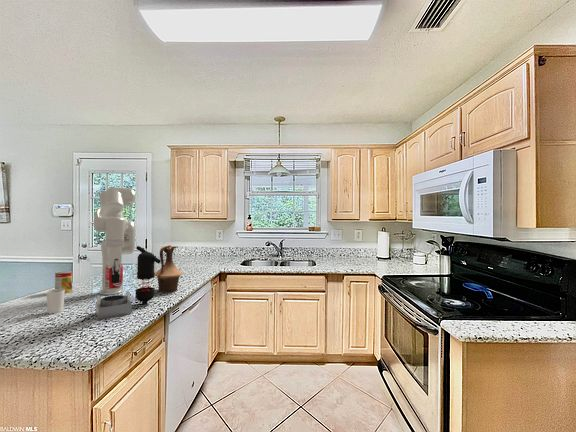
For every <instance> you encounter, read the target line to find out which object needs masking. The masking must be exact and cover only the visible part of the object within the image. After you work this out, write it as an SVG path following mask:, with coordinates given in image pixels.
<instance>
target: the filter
mask: <svg viewBox="0 0 576 432" xmlns="http://www.w3.org/2000/svg"><path fill="white" fill-rule="evenodd" d="M135 250H137V251H139V252H140V253H139V254H138V255H137V272H136V279H137V280H142V281H143V282H141V285H142V286H141V287H139V288H136V289H135V297H136V300H137V301H139V302H141V304H142V305H147V304H148V302H149V301H151V300H152V299H153V298H154V296H155V287H151V286H150V285H149V284H150V281H149V280H150V279H154V278H155V277H156V276H155V263H157V264H161V259H160V258H158V257H157V255H155V254H154V253H152V252H151V251H150V252H149V251H148V250H146V249H145V247H141V246H140V245H138V246H135ZM144 280H147V281H146V282H144ZM144 284H145V285H144Z"/></svg>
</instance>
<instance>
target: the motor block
mask: <svg viewBox="0 0 576 432" xmlns="http://www.w3.org/2000/svg"><path fill="white" fill-rule="evenodd" d="M101 296H102V295H101V294H99V295H96V301H95V308H94V309H95V310H94V311H95V315H96V318H97V319H98V320H103V319H109V318H113V317H119V316H120V317H121V316H125V315H130V314H132V311H133V309H132V307H133V305H132V301H131V300H130V299H131V291H129V290H128V291H126V292H125V294H124V295H123V294H112V295H106V296H105V297H101Z"/></svg>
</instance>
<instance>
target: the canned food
mask: <svg viewBox="0 0 576 432" xmlns="http://www.w3.org/2000/svg"><path fill="white" fill-rule="evenodd" d="M54 289H65V293H64V295H65V294H69V293H72V291H73V271H72V270H60V271H56V272H55V273H54Z"/></svg>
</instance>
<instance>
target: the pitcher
mask: <svg viewBox="0 0 576 432" xmlns="http://www.w3.org/2000/svg"><path fill="white" fill-rule="evenodd" d="M179 247H180V246H179V245H171V244H167V245H164V246H162V247H161V248H160V250H159V260H160V261H161V262H160V264H161V265H160V266H161V268H159V269H158V270H157V271H154V273H155V277H156V278H157V283H158V292H161V293H170V292H176V291H178V285H179V280H180V277H181V276H182V275H183V274H184V272H183V271H182V270H180V269H178V267H176V266H175V264H174V259H173V253H174V251H175V249H177V248H179ZM164 253H165V254H166V256H165V257H166V258H165V261H164Z"/></svg>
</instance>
